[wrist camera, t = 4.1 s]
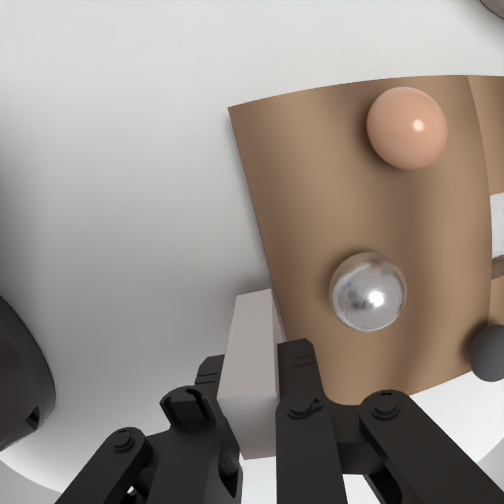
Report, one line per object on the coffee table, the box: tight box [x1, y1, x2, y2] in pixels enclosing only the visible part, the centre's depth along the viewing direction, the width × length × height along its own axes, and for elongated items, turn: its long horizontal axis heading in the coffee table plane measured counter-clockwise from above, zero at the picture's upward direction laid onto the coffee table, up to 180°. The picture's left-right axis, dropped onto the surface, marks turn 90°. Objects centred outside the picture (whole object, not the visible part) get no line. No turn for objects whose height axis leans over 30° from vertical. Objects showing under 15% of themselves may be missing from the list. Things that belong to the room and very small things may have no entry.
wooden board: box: [228, 75, 504, 405], centre depth 14 cm, size 20×18×5 cm
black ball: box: [469, 324, 504, 382], centre depth 14 cm, size 4×4×4 cm
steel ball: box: [329, 252, 407, 333], centre depth 13 cm, size 4×4×4 cm
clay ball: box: [367, 87, 448, 170], centre depth 11 cm, size 4×4×4 cm
